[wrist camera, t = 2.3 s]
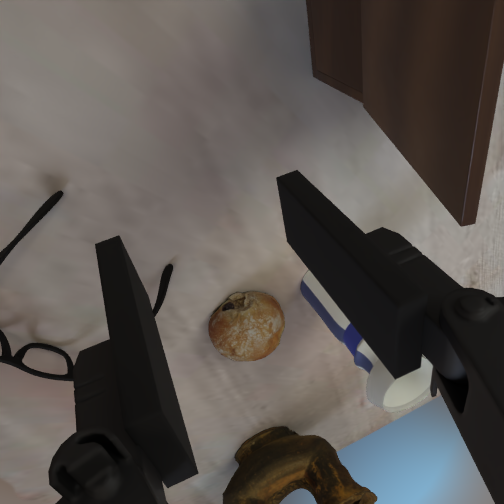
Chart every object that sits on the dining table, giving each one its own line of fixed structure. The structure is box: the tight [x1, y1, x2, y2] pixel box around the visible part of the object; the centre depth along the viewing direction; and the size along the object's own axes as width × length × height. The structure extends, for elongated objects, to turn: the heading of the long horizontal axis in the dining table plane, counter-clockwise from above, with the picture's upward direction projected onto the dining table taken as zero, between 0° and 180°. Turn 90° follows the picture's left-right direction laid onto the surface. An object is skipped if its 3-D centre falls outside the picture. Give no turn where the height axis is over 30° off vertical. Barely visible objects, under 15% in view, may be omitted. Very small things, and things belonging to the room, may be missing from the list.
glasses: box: [0, 191, 173, 381], centre depth 45 cm, size 17×18×5 cm
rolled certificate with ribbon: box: [301, 270, 433, 413], centre depth 52 cm, size 8×8×25 cm
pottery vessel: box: [223, 426, 377, 504], centre depth 72 cm, size 25×11×20 cm, turn 114°
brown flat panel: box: [361, 0, 504, 226], centre depth 25 cm, size 17×14×1 cm
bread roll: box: [209, 291, 285, 361], centre depth 58 cm, size 10×10×8 cm
